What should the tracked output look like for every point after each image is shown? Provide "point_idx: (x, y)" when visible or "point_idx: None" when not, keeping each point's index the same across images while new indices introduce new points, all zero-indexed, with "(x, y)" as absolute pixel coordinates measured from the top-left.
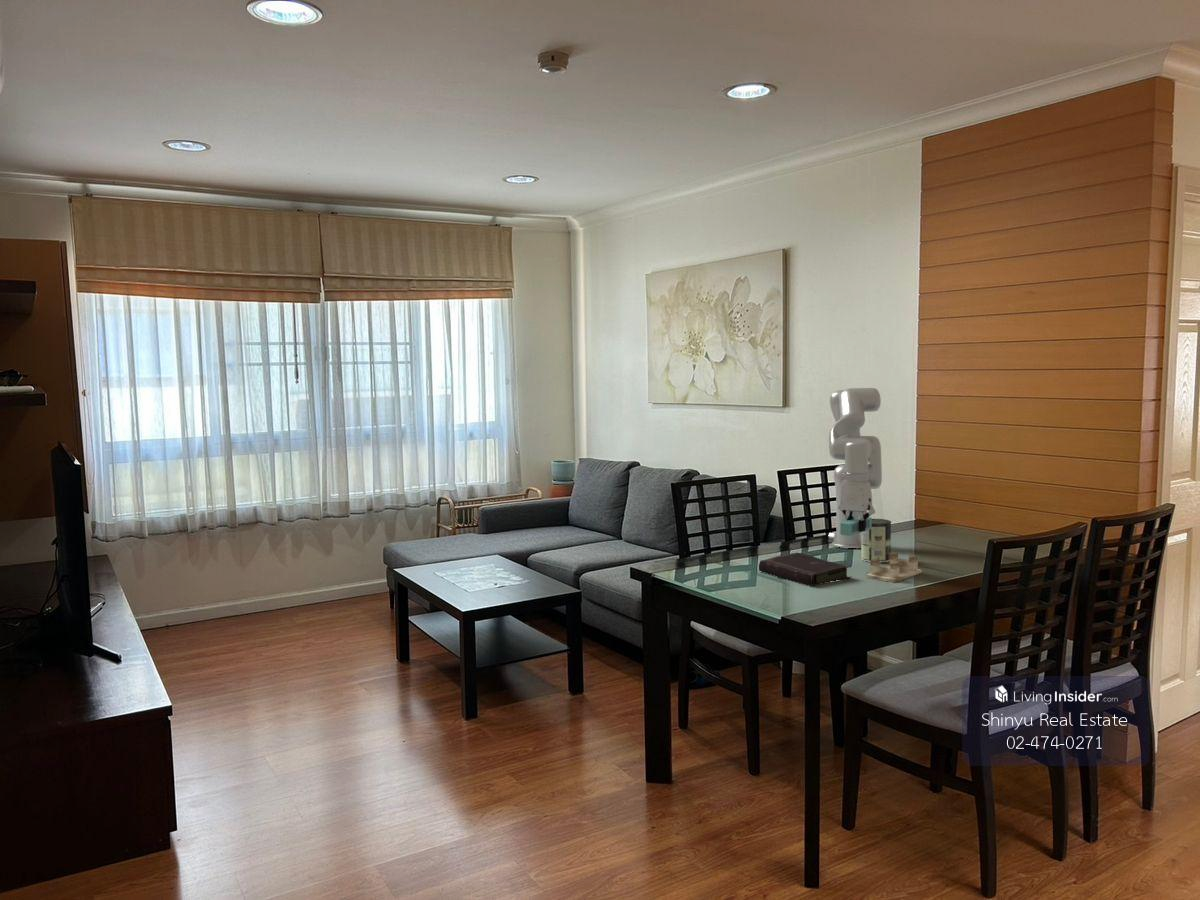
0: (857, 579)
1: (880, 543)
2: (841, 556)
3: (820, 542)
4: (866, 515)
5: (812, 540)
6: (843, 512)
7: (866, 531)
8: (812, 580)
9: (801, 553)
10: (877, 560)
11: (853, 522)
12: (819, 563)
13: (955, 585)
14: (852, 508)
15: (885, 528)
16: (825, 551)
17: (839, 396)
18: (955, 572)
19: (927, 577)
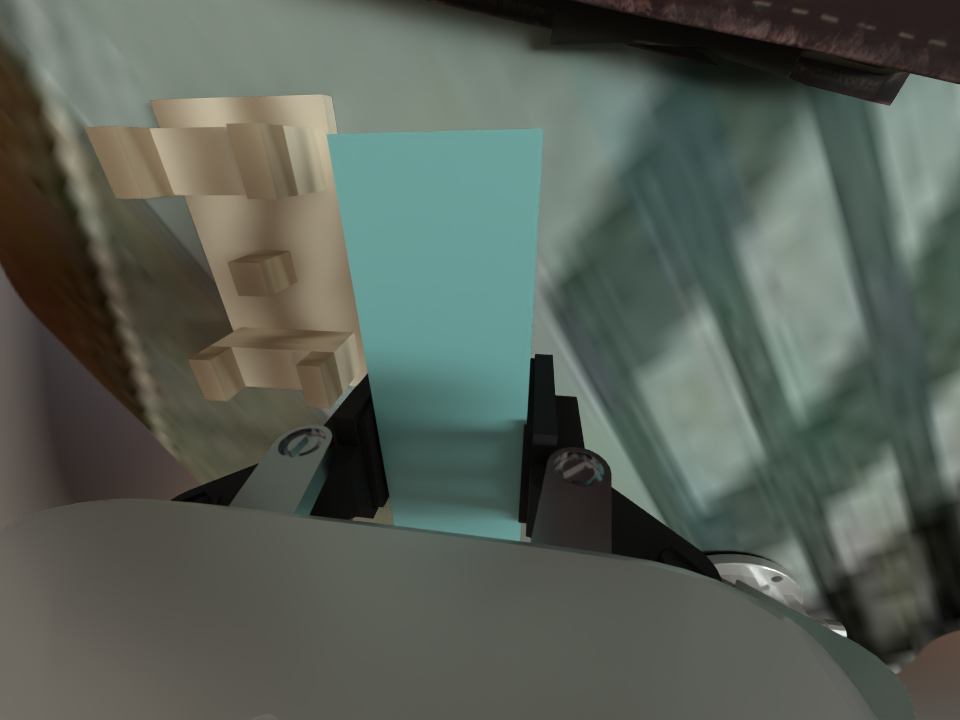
0: (334, 4)
1: None
2: (681, 444)
3: (864, 597)
4: (193, 493)
5: (913, 612)
6: (678, 547)
7: (529, 541)
8: None
9: (936, 72)
10: (242, 167)
11: (380, 318)
12: None
13: (30, 261)
14: (317, 571)
15: None
16: (792, 487)
17: None
18: (203, 436)
19: (187, 315)
